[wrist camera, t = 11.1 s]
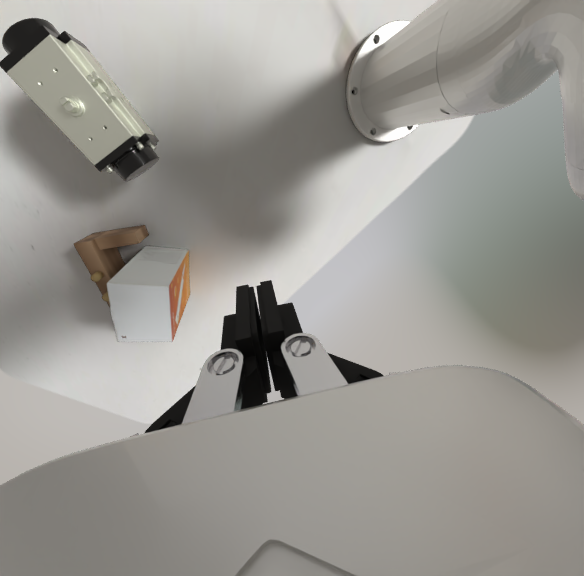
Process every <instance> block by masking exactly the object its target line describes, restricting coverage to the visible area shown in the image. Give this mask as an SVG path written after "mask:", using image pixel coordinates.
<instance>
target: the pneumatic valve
mask: <svg viewBox="0 0 584 576" xmlns="http://www.w3.org/2000/svg"><path fill="white" fill-rule="evenodd" d="M2 44H3V47H4V49H5V51H6V52H7V53H8V55H7V56H6V57H5V58H4V59H3V60H2V61H1V62H0V67H1V68H2V69H3V70H4V71H5V72H6V73H7V74H8V75H9V76H10V77H11V78H12V79H13V80H14V81H15V82H16V84H17V85H18V86H19V87H20V88H21V89H22V90H23V91H24V92H25V93H26V94H27V95H28V96H29V97H30V98H31V99H32V100H33V101H34V103H35V104H36V105H37V106H38V107H39V108H40V109H41V110H42V111H43V112H44V113H45V114H46V115H47V116H48V117H49V118H50V119H51V120H52V122H53V123H54V124H55V125H56V126H57V127H58V128H59V129H60V130H61V131H62V132H63V133H64V134H65V135H66V136H67V137H68V138H69V139H70V140H71V142H72V143H73V144H74V145H75V146H76V147H77V148H78V149H79V150H80V151H81V152H82V153H83V154H84V155H85V156H86V157H87V158H88V159H89V161H90V162H91V163H92V164H93V165H94V166H95V167H96V168H97V169H98V170H99V171H100V172H101V171H108V173H112V172H113V171H114V170H115V171H116V172H117V173H118V175H119V176H120V177H121V178H122V179H123V180H124V181H130V180H132V179H134V178H136V177H138V176H139V175H141V174H142V173H144V172H145V171H147V170H148V169H149V168H151V167H152V166H153V165H154V164H155V163H156V162H157V161H158V160H159V157H158V156H157V155H156V153H155V152H154V151H153V150H155V149H156V147H155V146H156V145H157V142H158V141H159V140H158V139H157V138H156V136H155V135H154V134H153V132H152V131H151V130H150V129H149V127H148V126H147V125H146V123H145V122H144V121H143V120H142V118H141V117H140V116H139V114H138V113H137V112H136V111H135V109H134V108H133V107H132V105H131V104H130V103H129V102H128V100H127V99H126V98H125V96H124V95H123V94H122V93H121V91H120V90H119V89H118V87H117V86H116V85H115V83H114V82H113V81H112V80H111V78H110V77H109V76H108V74H107V73H106V72H105V71H104V69H103V68H102V67H101V65H100V64H99V63H98V62H97V60H96V59H95V58H94V56H93V55H92V54H91V53H90V51H89V50H88V49H87V47H86V46H85V45H84V44H83V43H81V42H80V41H78V40H77V39H75V38H74V37H73V36H71V35H70V34H68V33H67V32H66V31H64V32H62V33H61V34H59V32H58V31H57V30H56V29H55V27H54V26H53V25H52V24H51V23H50V22H48V21H46V20H43V19H39V18H29V19H24V20H21V21H19V22H17V23H15V24H13V25H12V26H11V27H10V28H9V29H8V30H7V31H6V32H5V34H4V36H3V40H2Z"/></svg>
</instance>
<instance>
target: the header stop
mask: <svg viewBox="0 0 584 576" xmlns="http://www.w3.org/2000/svg"><path fill="white" fill-rule="evenodd" d="M148 235H149V234H148V232H147V229H146V227H145V225H141V226H135V227H129V228H122V229H116V230H110V231H104V232H97V233H93V234H91V235H89V236H87V237H85V238H84V239H82V240H80V241H78V242H76V243H74V246H75V248H76V250H77V251H78V253H79V255H80V257H81V258H82V260H83V262H84V263H85V265H86V267H87V269H88V270H89V272H90V274H91V280H92V281H94V282H95V283H96V284H97V286H98V288H99V290H100V291H101V293H102V295H103V296H102V299H103V300H104V301H106V302H107V303H108V305H109V307H110V302H109V296H108V290H107V282H108V281H109V280H111V279H112V278H113V277H114V276H115V275H116V274H117V273H118V272H119V271H120V270H121V269H122V268H123V267H124V266H125V263H124V261H123V259H122V257H121V255H120V253H119V251H118V249H117V247H120V246H126V245H132V244H138V243H140V242H141V241H142V240H144V239H145V238H146V237H147V236H148Z"/></svg>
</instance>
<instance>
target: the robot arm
mask: <svg viewBox="0 0 584 576" xmlns="http://www.w3.org/2000/svg"><path fill="white" fill-rule="evenodd" d="M373 40H374V41H375V44H374V42H373ZM557 70H558V72H559V80H560V92H561V97H562V104H563V123H564V142H565V156H566V166H567V173H568V180H569V183H570V185H571V187H572V189H573V191H574V192H575V194H576V195H577V196H578V197H579V198H581V199H582V200H583V201H584V0H438V1H436V2H435V3H434V4H433V5H431V6H430V7H429V8H427V9H426V10H425V11H424V12H422V13H421V14H420V15H418V16H417V17H416V18H415V19H413V20H412V21H411V22H410V21H403V20H397V21H393V22H389V23H387V24H385V25H383V26H381V27H379V28H378V29H377V30H376V31H374V32H373V33H372V34H371V35H370V36H369V37H368V38H367V39H366V40H365V41H364V42H363V44H362V45H361V47H360V48H359V50H358V51H357V53H356V55H355V57H354V59H353V61H352V64H351V67H350V70H349V74H348V80H347V92H346V97H347V105H348V110H349V113H350V117H351V119H352V121H353V123H354V125H355V126H356V128H357V129H358V130H359V131H360V132H361V133H362V134H363V135H364V136H365V137H367V138H369V139H371V140H373V141H377V142H391V141H396V140H399V139H401V138H403V137H405V136H407V135H408V134H410V133H411V132H412V131H413V130H414V129H416V128H417V127H418V125H419V124H425V123H430V122H436V121H442V120H448V119H454V118H460V117H466V116H472V115H477V114H482V113H488V112H492V111H496V110H500V109H502V108H505V107H507V106H510V105H512V104H514V103H516V102H517V101H519V100H521V99H522V98H524V97H525V96H527V95H529V94H530V93H532V92H533V91H534V90H535V89H537V88H538V87H539V86H540V85H541V84H543V83H544V82H545V81H546V80H547V79H548V78H550V77H551V76H552V75H553V74H554V73H555V72H556V71H557ZM352 90H353V91H354V94H352V92H351V91H352ZM407 126H408V128H407ZM370 131H372V133H370ZM260 284H261V285H259V286H257V294H258V303H259V311H260V315H259V311H258V306H257V302H256V297H255V293H254V288H253V287H249V286H248V285H243V286H238V287H237V291H236V314H232V315H227V316H224V323H223V333H222V343H221V350H220V351H218V352H215V353H214V354H212V355H211V356H210V357H209V358H208V359H207V360H206V361H205V363H204V365H203V368H202V370H201V373H200V376H199V378H198V381H197V384H196V386H195V387H193V388H192V389H191V390H190V391H189V392H188V393H187V394H186V395H184V396H183V397H182V398H181V399H180V400H179V401H178V402H176V403H175V404H174V405H173V406H172V407H171V408H170V409H169V410H167V411H166V412H165V413H164V414H163V415H162V416H161V417H159V418H158V419H157V420H156V421H155V422H154V423H153V424H152V425H151V426H150V427H149V428H148V429H147V430H146V432H145V433H144V434H141V435H139V434H138V433H137V434H135V435H133V436H130V437H128V438H125V439H121V440H117V441H113V442H110V443H106V444H103V445H99V446H96V447H92V448H89V449H85V450H81V451H78V452H74V453H71V454H69V455H66V456H63V457H60V458H57V459H55V460H52V461H49V462H47V463H45V464H42V465H40V466H38V467H35V468H33V469H31V470H29V471H26V472H24V473H22V474H21V475H19V476H17V477H15V478H13V479H11V480H9V481H7V482H6V483H4V484H2V485H0V576H584V424H582V423H581V422H580V421H579V420H577V419H576V418H575V417H573V416H572V415H570V414H569V413H568V412H566V411H565V410H563V409H562V408H561V407H560V406H558V405H557V404H556V403H554V402H553V401H551V400H550V399H549V398H547V397H546V396H544V395H543V394H541V393H540V392H538V391H537V390H536V389H534V388H532V387H531V386H529V385H528V384H526V383H524V382H523V381H521V380H519V379H517V378H515V377H513V376H511V375H509V374H506V373H503V372H501V371H498V370H493V369H488V368H483V367H474V366H463V365H453V366H436V367H427V368H421V369H416V370H411V371H406V372H398V373H389V375H386V376H383V375H382V374H381V373H379V372H377V371H375V370H372V369H369V368H367V367H364V366H361V365H359V364H356V363H353V362H350V361H348V360H345V359H343V358H340V357H337V356H334V355H332V354H329V353H327V352H326V350H325V349H324V348H323V346H322V345H321V343H320V342H319V340H318V339H317V338H316V337H315V336H313V335H311V334H306V333H303V332H302V329H301V326H300V323H299V320H298V318H297V315H296V312H295V309H294V306H293V303H288V304H282V305H277V301H276V297H275V293H274V289H273V285H272V281H271V280H270V281H264V282H260ZM266 353H267V354H266ZM267 357H268V361H269V366H270V370H271V374H272V379H273V383H274V388H275V391H279V390H280V393H281V397H282V398H284V400H279V401H275V402H271V403H267V404H263V403H265V402H267V393H270V392H271V385H270V377H269V370H268V362H267ZM262 404H263V405H262Z"/></svg>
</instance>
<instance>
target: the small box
mask: <svg viewBox="0 0 584 576" xmlns="http://www.w3.org/2000/svg"><path fill="white" fill-rule="evenodd" d="M107 290H108V296H109V302H110V309H111V316H112V320H113V323H114V328H115V333H116V338H117V341H118V342H172V341H173V339H174V336H175V333H176V331H177V328H178V325H179V322H180V320H181V317H182V314H183V311H184V309H185V306H186V303H187V301H188V298H189V295H190V284H189V250H188V249H177V248H166V247H154V246H145V247H144V248H143V249H142V250H141V251H140V252H139V253H138V254H137V255H135V256H134V257H133V258H132V259H131V260H130V261H129V262H128V263H127V264H126V265H125V266H124V267H123V268H122V269H121V270H120V271H119V272H118V273H117V274H116V275H115V276H114V277H113V278H112V279H111V280H109V281H108V282H107Z"/></svg>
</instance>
